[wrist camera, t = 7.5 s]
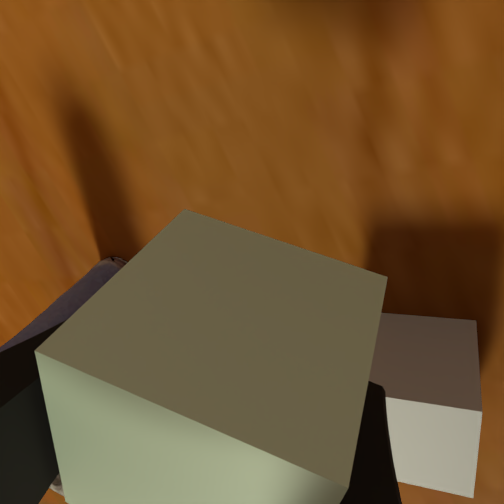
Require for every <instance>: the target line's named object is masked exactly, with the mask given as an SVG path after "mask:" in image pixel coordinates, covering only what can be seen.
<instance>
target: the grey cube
mask: <svg viewBox="0 0 504 504" xmlns="http://www.w3.org/2000/svg"><path fill="white" fill-rule="evenodd" d="M369 381H371V382H373V383H376V384H378V385H381V386H383V388H384V390H385V391H386V409H387V420H388V428H389V436H390V443H391V450H392V456H393V462H394V467H395V472H396V477H397V481H399V482H403V483H408V484H412V485H417V486H421V487H426V488H430V489H435V490H439V491H444V492H448V493H453V494H457V495H462V496H466V497H470V498H473V495H474V485H475V476H476V466H477V457H478V447H479V438H480V428H481V419H482V401H481V385H480V370H479V355H478V340H477V324H476V320H465V319H452V318H440V317H428V316H416V315H403V314H391V313H381V316H380V322H379V327H378V332H377V338H376V343H375V348H374V354H373V359H372V365H371V370H370V375H369Z"/></svg>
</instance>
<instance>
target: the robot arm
mask: <svg viewBox="0 0 504 504" xmlns="http://www.w3.org/2000/svg"><path fill="white" fill-rule="evenodd" d="M67 320H68V319H67ZM67 320H65V321H67ZM65 321H63V322H61V323H59V324H57V325H55V326H53V327H51V328H49V329H47V330H45V331H43V332H41V333H39V334H37V335H35V336H33V337H31V338H29V339H27V340H25V341H23V342H21V343H18V344H16V345H14V346H12V347H10V348H8V349H6V350H3V351H1V352H0V504H38V503H39V502H40V500H41V499H42V497H43V496H44V494H45V493H46V491H47V490H48V488H49V487H50V485H51V484H52V482H53V481H54V479H55V478H56V477H57V475H58V474H59V473H60V472H59V467H58V462H57V457H56V453H55V448H54V443H53V438H52V433H51V428H50V423H49V419H48V414H47V409H46V404H45V399H44V394H43V390H42V385H41V380H40V375H39V370H38V365H37V360H36V356H35V350H36V349H37V348H38V347H39V346H40V345H41V344H42V343H43V342H44V341H45V340H46V339H47V338H49V337H50V336H51V335H52V334H53V333H54V332H55V331H56V330H57V329H58V328H59V327H60V326H61V325H62V324H63V323H64V322H65ZM340 504H402V502H401V498H400V492H399V487H398V482H397V477H396V472H395V467H394V462H393V456H392V450H391V443H390V436H389V428H388V420H387V409H386V391H385V390H384V388H383V386H381V385H378V384H376V383H373V382H371V381H368V386H367V391H366V397H365V402H364V407H363V413H362V418H361V423H360V429H359V434H358V440H357V445H356V450H355V456H354V461H353V466H352V472H351V477H350V482H349V488H348V490H347V492H346V493H345V495H344V497H343V499H342V500H341V502H340Z"/></svg>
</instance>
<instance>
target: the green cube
mask: <svg viewBox="0 0 504 504" xmlns="http://www.w3.org/2000/svg"><path fill="white" fill-rule="evenodd" d="M387 279H388V277H386V276H383V275H380V274H377V273H374V272H371V271H368V270H365V269H362V268H359V267H356V266H353V265H350V264H347V263H344V262H341V261H338V260H335V259H333V258H330V257H327V256H324V255H321V254H318V253H315V252H312V251H309V250H306V249H303V248H300V247H297V246H294V245H291V244H288V243H285V242H282V241H279V240H276V239H273V238H270V237H267V236H264V235H261V234H258V233H255V232H252V231H249V230H246V229H243V228H240V227H237V226H234V225H231V224H228V223H225V222H222V221H219V220H216V219H213V218H210V217H207V216H204V215H201V214H198V213H195V212H192V211H189V210H186V209H184V210H183V211H182V212H181V213H180V214H179V215H178V216H177V217H176V218H174V219H173V220H172V221H171V222H170V223H169V224H168V225H167V226H166V227H165V228H164V229H163V230H162V231H161V232H160V233H159V234H158V235H156V236H155V237H154V238H153V239H152V240H151V241H150V242H149V243H148V244H147V245H146V246H145V247H144V248H143V249H142V250H141V251H140V252H138V253H137V254H136V255H135V256H134V257H133V258H132V259H131V260H130V261H129V262H128V263H127V264H126V265H125V266H124V267H123V268H122V269H120V270H119V271H118V272H117V273H116V274H115V275H114V276H113V277H112V278H111V279H110V280H109V281H108V282H107V283H106V284H105V285H104V286H102V287H101V288H100V289H99V290H98V291H97V292H96V293H95V294H94V295H93V296H92V297H91V298H90V299H89V300H88V301H87V302H86V303H85V304H83V305H82V306H81V307H80V308H79V309H78V310H77V311H76V312H75V313H74V314H73V315H72V316H71V317H70V318H69V319H68V320H67V321H65V322H64V323H63V324H62V325H61V326H60V327H59V328H58V329H57V330H56V331H55V332H54V333H53V334H52V335H51V336H50V337H49V338H47V339H46V340H45V341H44V342H43V343H42V344H41V345H40V346H39V347H38V348H37V349H36V350H35V356H36V360H37V365H38V370H39V375H40V380H41V385H42V390H43V394H44V399H45V404H46V409H47V414H48V419H49V423H50V428H51V433H52V438H53V443H54V448H55V453H56V457H57V462H58V467H59V472H60V477H61V482H62V486H63V491H64V496H65V501H66V502H67V503H69V504H340V502H341V500H342V499H343V497H344V495H345V493H346V492H347V490H348V488H349V482H350V477H351V472H352V466H353V461H354V456H355V450H356V445H357V440H358V434H359V429H360V423H361V418H362V413H363V407H364V402H365V397H366V391H367V386H368V381H369V375H370V370H371V365H372V359H373V354H374V348H375V343H376V338H377V332H378V327H379V322H380V316H381V311H382V306H383V300H384V295H385V290H386V284H387Z"/></svg>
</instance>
